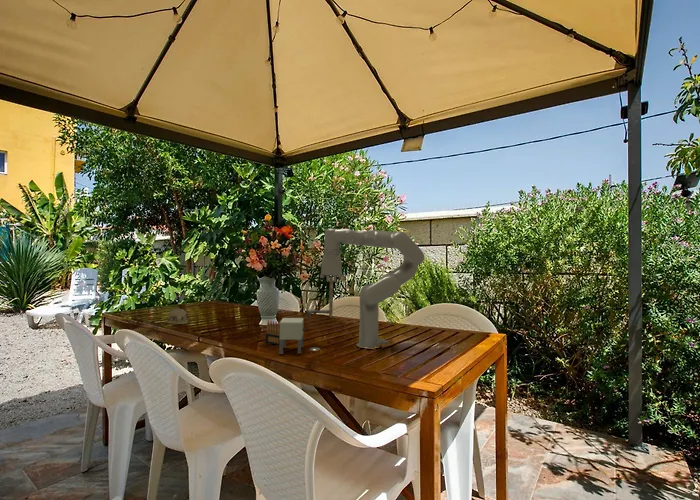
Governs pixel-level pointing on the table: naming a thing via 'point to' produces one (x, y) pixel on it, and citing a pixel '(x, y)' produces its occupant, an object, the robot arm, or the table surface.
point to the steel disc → (314, 349)
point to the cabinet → (291, 332)
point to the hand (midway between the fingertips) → (331, 289)
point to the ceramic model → (177, 316)
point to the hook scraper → (329, 302)
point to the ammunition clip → (273, 333)
